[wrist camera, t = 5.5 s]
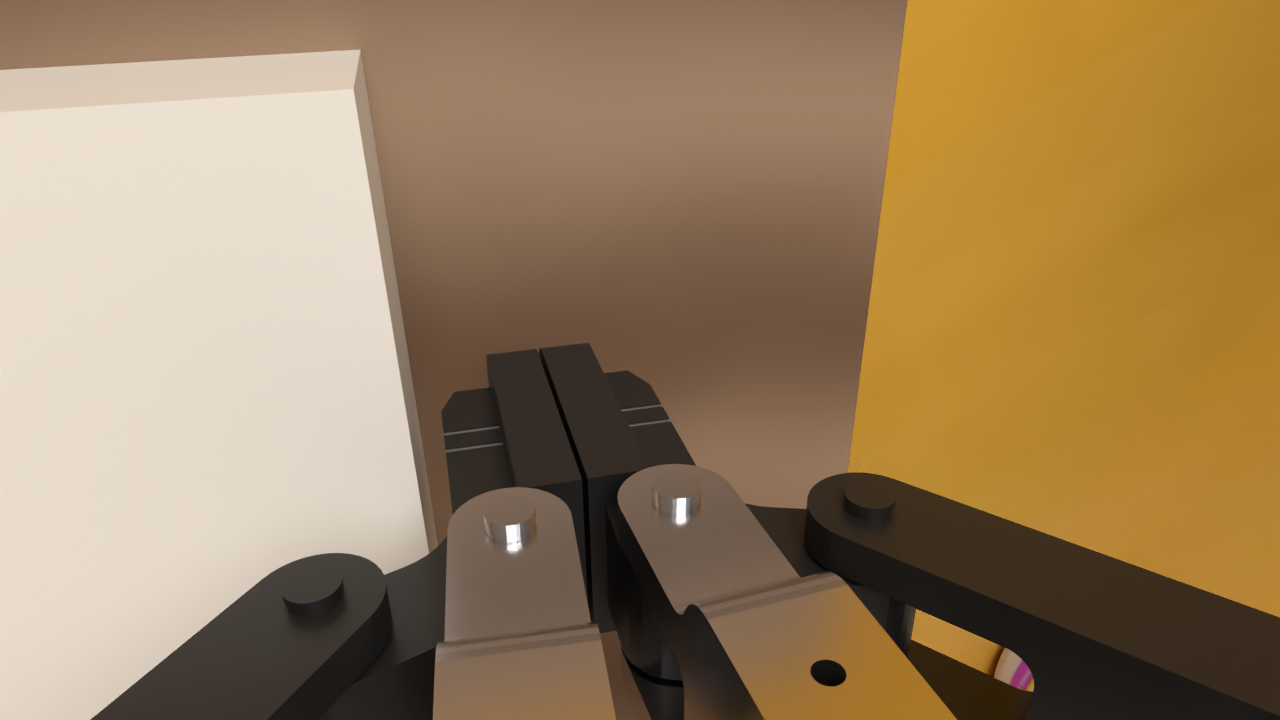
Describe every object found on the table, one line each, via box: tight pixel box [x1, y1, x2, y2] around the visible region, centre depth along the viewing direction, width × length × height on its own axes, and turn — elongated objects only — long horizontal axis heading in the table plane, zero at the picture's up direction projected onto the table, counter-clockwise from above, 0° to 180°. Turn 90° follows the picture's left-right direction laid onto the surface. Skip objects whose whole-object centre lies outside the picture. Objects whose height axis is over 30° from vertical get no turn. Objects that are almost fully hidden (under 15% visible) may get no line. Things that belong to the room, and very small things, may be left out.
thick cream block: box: [0, 50, 438, 720], centre depth 12 cm, size 9×6×3 cm, turn 1°
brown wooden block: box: [0, 0, 907, 720], centre depth 16 cm, size 22×14×4 cm, turn 0°
